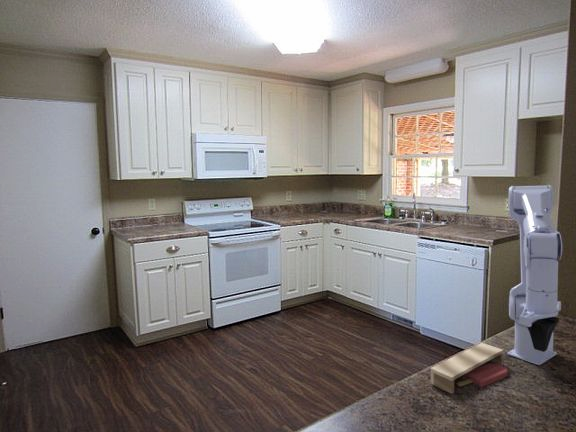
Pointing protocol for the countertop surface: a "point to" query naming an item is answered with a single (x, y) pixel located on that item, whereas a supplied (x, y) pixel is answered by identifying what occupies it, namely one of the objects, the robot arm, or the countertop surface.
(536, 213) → the robot arm
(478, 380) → the popsicle
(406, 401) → the countertop surface
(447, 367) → the rail
